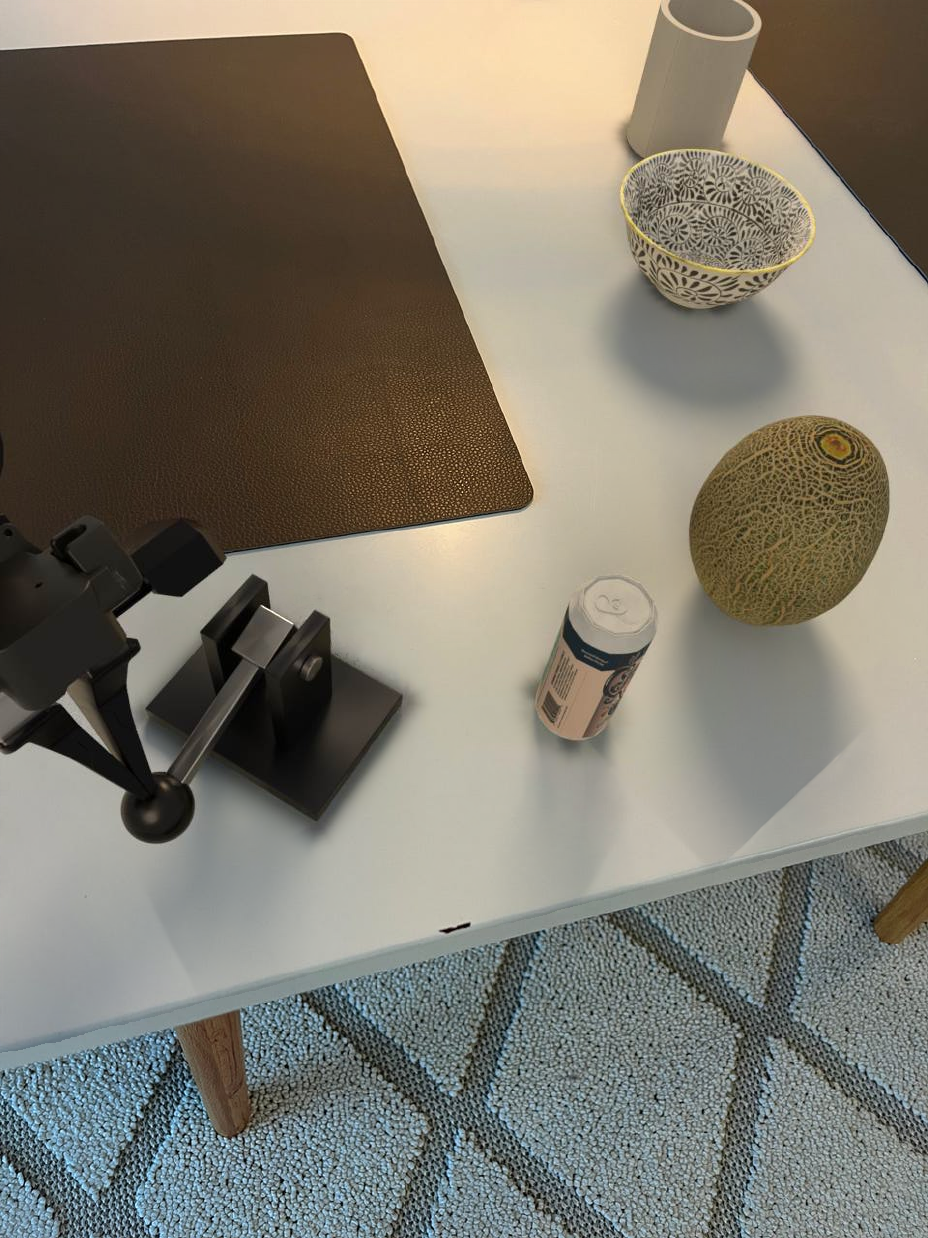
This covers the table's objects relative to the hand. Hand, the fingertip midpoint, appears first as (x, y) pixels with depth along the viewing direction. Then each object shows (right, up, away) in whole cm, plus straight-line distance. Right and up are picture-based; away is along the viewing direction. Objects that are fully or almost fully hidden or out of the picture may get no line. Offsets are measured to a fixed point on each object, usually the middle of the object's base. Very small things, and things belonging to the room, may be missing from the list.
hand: (148, 794), depth 46 cm
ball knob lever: (+2, +2, +5) cm, 6 cm away
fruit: (+35, +10, +20) cm, 41 cm away
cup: (+36, +56, +48) cm, 82 cm away
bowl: (+35, +38, +37) cm, 63 cm away
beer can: (+22, +3, +13) cm, 26 cm away
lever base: (+4, +3, +11) cm, 12 cm away
